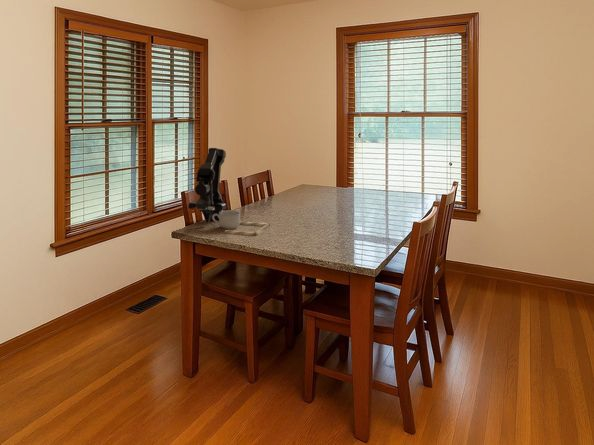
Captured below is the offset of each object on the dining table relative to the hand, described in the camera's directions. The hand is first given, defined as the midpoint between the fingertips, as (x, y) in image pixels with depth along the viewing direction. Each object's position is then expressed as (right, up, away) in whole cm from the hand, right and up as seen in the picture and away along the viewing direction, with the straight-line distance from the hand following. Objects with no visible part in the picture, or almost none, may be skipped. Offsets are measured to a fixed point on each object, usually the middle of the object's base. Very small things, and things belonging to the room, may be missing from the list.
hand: (207, 222), depth 233 cm
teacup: (+10, -3, -2) cm, 11 cm away
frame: (+21, -3, -5) cm, 21 cm away
